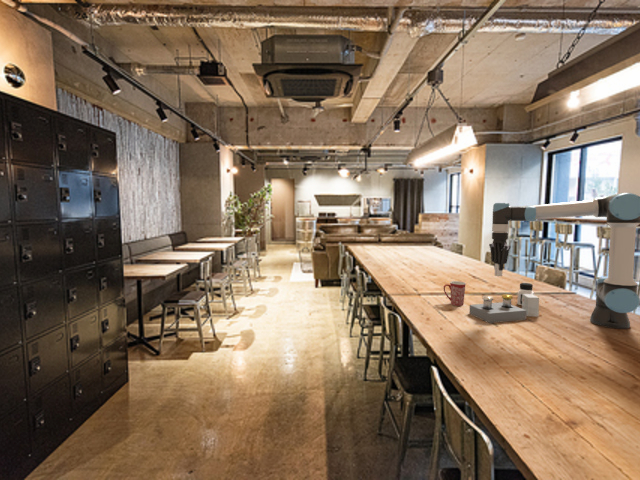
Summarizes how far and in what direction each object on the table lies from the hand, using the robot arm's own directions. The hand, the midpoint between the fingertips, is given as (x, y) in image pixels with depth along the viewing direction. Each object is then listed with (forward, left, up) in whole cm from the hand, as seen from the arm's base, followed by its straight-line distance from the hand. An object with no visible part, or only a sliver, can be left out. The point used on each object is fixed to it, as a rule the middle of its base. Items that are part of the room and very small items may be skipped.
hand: (498, 275), depth 180 cm
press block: (0, 0, -22) cm, 22 cm away
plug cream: (0, +6, -18) cm, 19 cm away
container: (+16, -33, -23) cm, 43 cm away
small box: (-1, -20, -23) cm, 30 cm away
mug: (+27, +8, -23) cm, 36 cm away
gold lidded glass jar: (0, -6, -18) cm, 19 cm away
